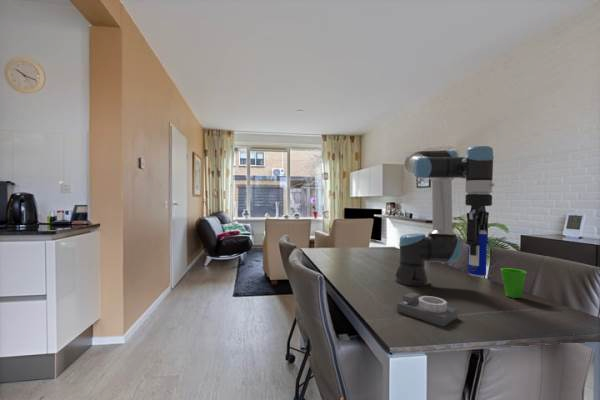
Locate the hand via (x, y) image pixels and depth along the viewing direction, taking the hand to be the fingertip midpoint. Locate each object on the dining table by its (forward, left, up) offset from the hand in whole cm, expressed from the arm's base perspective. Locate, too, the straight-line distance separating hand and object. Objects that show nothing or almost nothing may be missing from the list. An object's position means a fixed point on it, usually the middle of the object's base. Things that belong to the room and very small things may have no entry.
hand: (476, 263), depth 97 cm
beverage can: (0, 0, -4) cm, 4 cm away
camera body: (-13, -8, -19) cm, 24 cm away
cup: (+1, +40, -19) cm, 44 cm away
